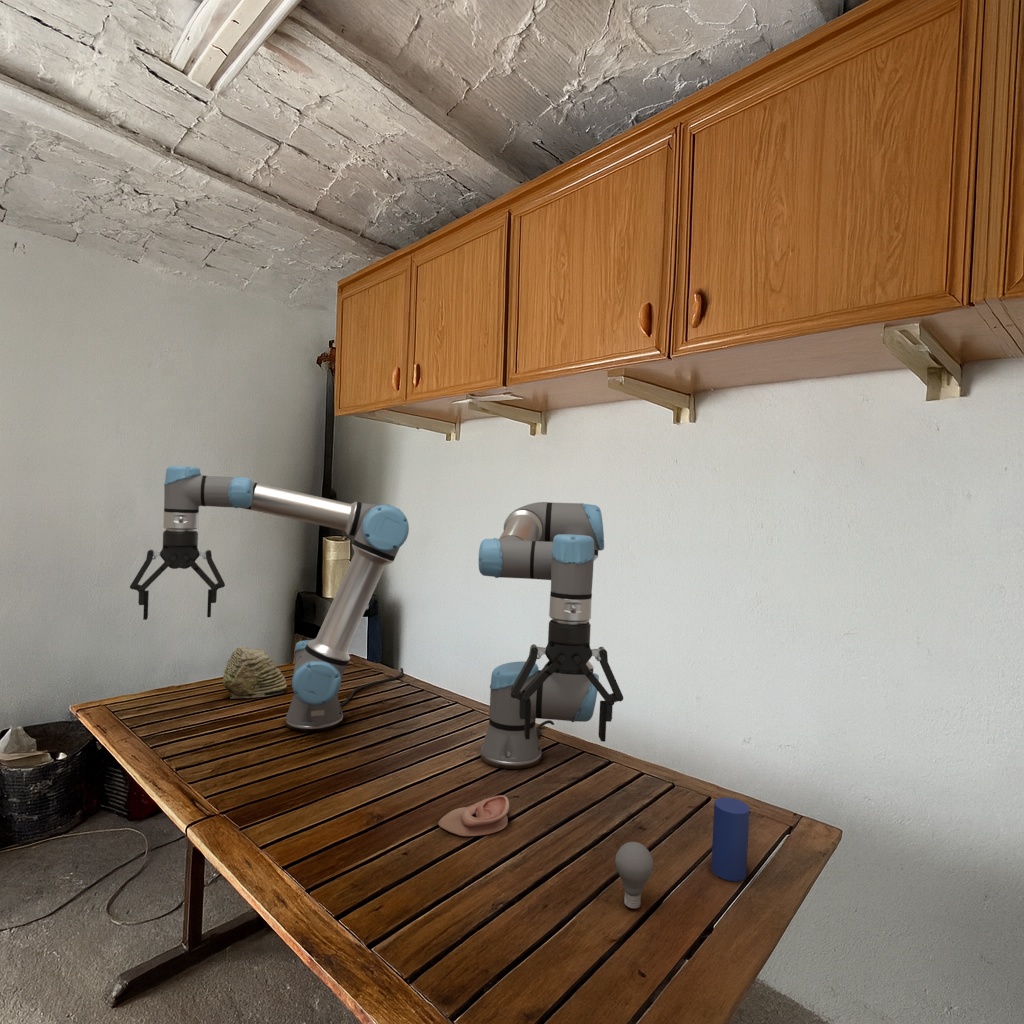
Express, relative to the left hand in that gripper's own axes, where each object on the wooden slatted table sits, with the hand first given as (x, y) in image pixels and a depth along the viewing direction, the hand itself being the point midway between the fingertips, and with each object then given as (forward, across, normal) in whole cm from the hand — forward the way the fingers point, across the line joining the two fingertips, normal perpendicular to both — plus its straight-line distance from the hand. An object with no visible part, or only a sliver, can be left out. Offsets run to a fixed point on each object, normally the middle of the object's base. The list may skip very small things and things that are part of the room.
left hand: (177, 617), depth 154 cm
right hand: (+10, +64, -76) cm, 100 cm away
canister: (+32, +90, -91) cm, 132 cm away
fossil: (+32, +21, +39) cm, 55 cm away
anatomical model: (+32, +55, -59) cm, 87 cm away
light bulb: (+32, +68, -92) cm, 119 cm away
